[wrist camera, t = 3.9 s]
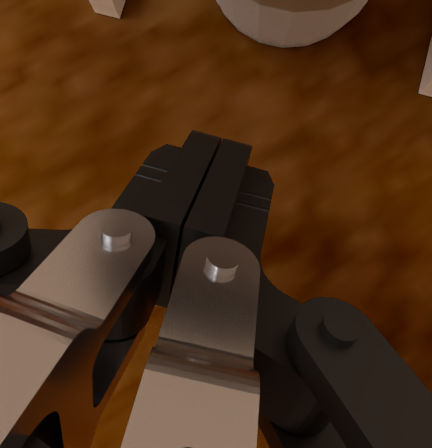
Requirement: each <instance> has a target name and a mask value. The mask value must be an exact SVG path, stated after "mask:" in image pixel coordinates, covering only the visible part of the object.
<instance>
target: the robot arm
mask: <svg viewBox="0 0 432 448" xmlns="http://www.w3.org/2000/svg"><path fill="white" fill-rule="evenodd" d="M221 141H222V143H221ZM251 150H252V146H250V145H247V144H243V143H239V142H236V141H232V140H228V139H223V140H222V138H220V137H216V136H213V135H209V134H205V133H202V132H198V131H194V130H192V131H191V133H190V135H189V136H188V138H187V140H186V141H185V143H184V145H183V146H182V148H180V147H176V146H172V145H168V144H166V145H164V146H162V147H160V148H158V149H156V150H154V151H152V152H151V153H150V154H149V156H148V157H147V159H146V160H145V162H144V163H143V166H141V167H140V169H139V170H138V171H137V173H136V176H134V177H133V178H132V180H131V181H130V183H129V184H128V185H127V187H126V188H125V190H124V191H123V192H122V194H121V195H120V197H119V198H118V200H117V201H116V202H115V204H114V205H113V207H112V208H111V209H105V210H100V211H97V212H94V213H92V214H89V215H88V216H86V217H85V218H83V219H82V220H81V221H80V222H79V223H78V224H77V225H76V227H75V228H74V229H71V230H50V229H28V223H27V218H26V216H25V214H24V213H23V212H22V211H21V210H19V209H18V208H16V207H14V206H12V205H10V204H7V203H2V202H0V448H90V446H91V443H92V441H93V437H94V434H95V430H96V427H97V424H98V422H99V419H100V417H101V415H102V413H103V411H104V409H105V407H106V405H107V403H108V401H109V399H110V397H111V396H112V394H113V392H114V390H115V388H116V386H117V384H118V382H119V381H120V379H121V377H122V375H123V373H124V371H125V369H126V367H127V365H128V364H129V362H130V360H131V358H132V356H133V354H134V352H135V350H136V349H137V347H138V345H139V343H140V341H141V339H142V337H143V335H144V332H145V325H146V323H147V322H148V320H149V317H150V315H151V313H152V310H153V308H154V306H155V304H156V305H159V306H163V307H166V308H167V310H166V313H165V317H164V320H163V323H162V327H161V330H160V333H159V337H158V340H157V343H156V346H155V347H153V348H152V350H151V352H150V355H149V357H148V360H147V363H146V367H145V370H144V373H143V376H142V380H141V383H140V386H139V389H138V393H137V396H136V399H135V402H134V406H133V409H132V412H131V415H130V419H129V422H128V425H127V429H126V432H125V435H124V438H123V442H122V445H121V448H256V447H257V431H258V425H259V427H260V429H261V431H262V433H263V435H264V437H265V438H266V440H267V442H268V444H269V446H270V448H432V393H431V392H430V391H429V390H428V389H427V387H426V386H425V385H424V384H423V383H422V382H421V380H420V379H419V378H418V377H417V376H416V374H415V373H414V372H413V371H412V370H411V368H410V367H409V366H408V365H407V364H406V363H405V361H404V360H403V359H402V358H401V357H400V355H399V354H398V353H397V352H396V351H395V349H394V348H393V347H392V346H391V345H390V344H389V342H388V341H387V340H386V339H385V338H384V336H383V335H382V334H381V333H380V332H379V330H378V329H377V328H376V327H375V326H374V325H373V323H372V322H371V321H370V320H369V319H368V318H367V317H366V316H365V315H364V314H363V313H362V312H361V311H360V310H358V309H357V308H355V307H354V306H352V305H350V304H348V303H346V302H344V301H341V300H339V299H335V298H329V297H318V298H313V299H310V300H308V301H306V302H305V303H303V304H301V303H300V302H298V301H296V300H294V299H293V298H291V297H289V296H288V295H286V294H284V293H283V292H281V291H280V290H278V289H277V288H276V287H275V286H274V285H273V284H272V283H271V282H270V281H269V280H268V279H267V277H266V276H265V274H264V272H263V270H262V267H261V264H260V254H261V249H262V244H263V239H264V234H265V229H266V224H267V218H268V212H269V208H270V203H271V198H272V193H273V188H274V184H273V182H272V179H271V177H270V175H269V173H268V171H265V170H261V169H257V168H254V167H250V166H247V165H248V161H249V158H250V154H251Z"/></svg>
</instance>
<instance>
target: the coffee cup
mask: <svg viewBox="0 0 432 448" xmlns="http://www.w3.org/2000/svg"><path fill="white" fill-rule="evenodd" d="M216 1H217V4H218V5H219V6H220V7H221V9H222V12H223V14H224V15H225V16H226V17H227V18H228V19H229V21H230V22H231V23H232V24H233V25H234V26H235V27H236V28H237V29H238V31H240V32H242V33H243V34H245V35H247V36H249V37H250V38H252V39H254V40H255V41H257V42H259V43H263V44H268V45H272V46H277V47H281V48H286V47H299V46H308V45H310V44H313V43H315V42H318V41H320V40H323V39H325V38H328V37H329V36H331V35H332V34H333V33H334V32H336V31H337V30H339V29H340V28H341V27H342V26H344V25H345V24H346V23H347V22H348V21H350V20H351V19H352V18H353V17H355V16H356V15H357V14H358V13H359V12H360V11H361V9H362V8H363V7H364V5H365V4H366V3H367V1H368V0H216Z"/></svg>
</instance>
